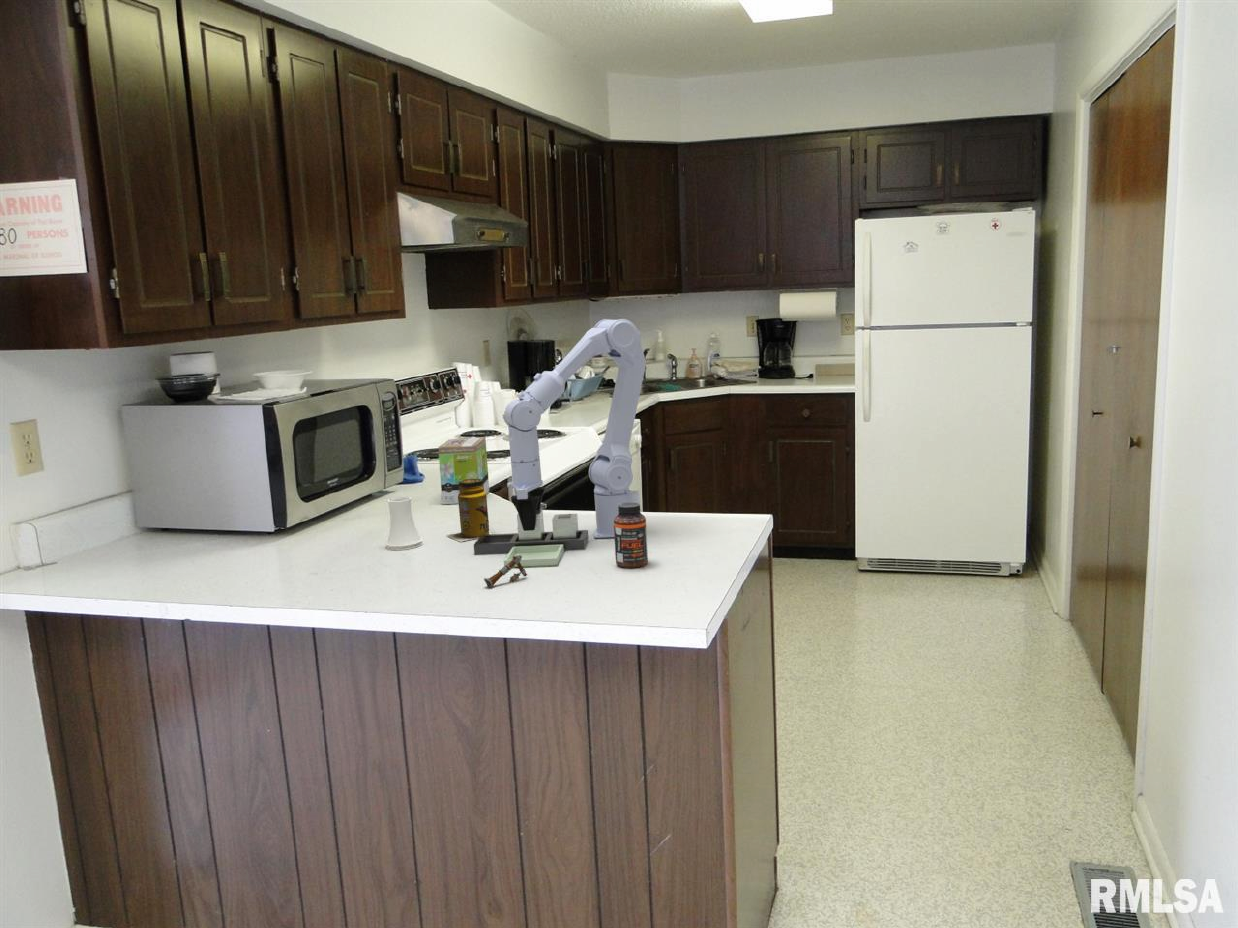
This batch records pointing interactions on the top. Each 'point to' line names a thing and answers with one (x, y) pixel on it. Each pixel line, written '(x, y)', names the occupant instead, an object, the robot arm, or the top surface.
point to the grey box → (532, 534)
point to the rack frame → (525, 542)
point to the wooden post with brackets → (504, 570)
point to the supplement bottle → (630, 536)
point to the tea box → (462, 465)
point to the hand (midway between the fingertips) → (531, 527)
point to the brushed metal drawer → (565, 526)
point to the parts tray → (536, 555)
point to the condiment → (472, 510)
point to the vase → (402, 525)
